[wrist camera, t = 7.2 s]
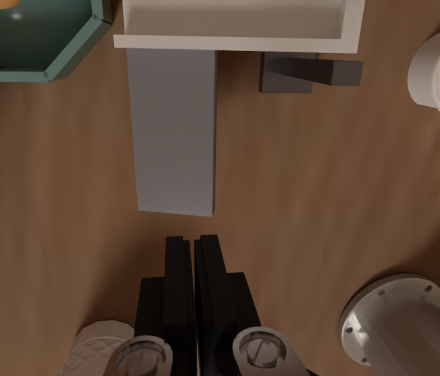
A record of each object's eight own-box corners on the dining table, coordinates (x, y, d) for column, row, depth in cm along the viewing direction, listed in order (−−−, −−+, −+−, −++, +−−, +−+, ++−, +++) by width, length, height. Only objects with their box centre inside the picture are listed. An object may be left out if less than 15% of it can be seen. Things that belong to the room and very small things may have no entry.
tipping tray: (374, -138, 15) (392, -172, 13) (321, 219, 22) (327, 239, 20) (121, -127, 17) (97, -155, 15) (143, 204, 24) (129, 220, 21)
